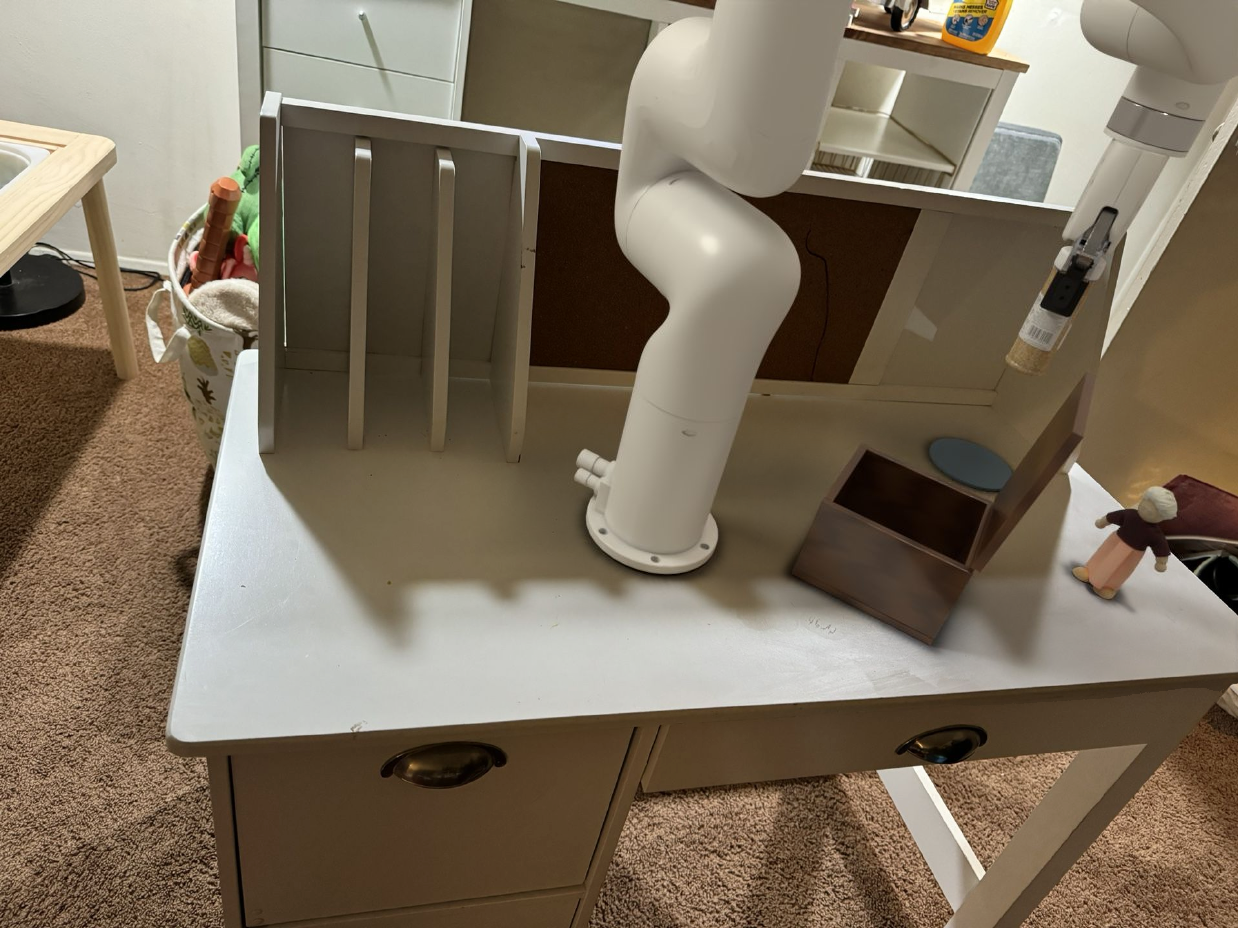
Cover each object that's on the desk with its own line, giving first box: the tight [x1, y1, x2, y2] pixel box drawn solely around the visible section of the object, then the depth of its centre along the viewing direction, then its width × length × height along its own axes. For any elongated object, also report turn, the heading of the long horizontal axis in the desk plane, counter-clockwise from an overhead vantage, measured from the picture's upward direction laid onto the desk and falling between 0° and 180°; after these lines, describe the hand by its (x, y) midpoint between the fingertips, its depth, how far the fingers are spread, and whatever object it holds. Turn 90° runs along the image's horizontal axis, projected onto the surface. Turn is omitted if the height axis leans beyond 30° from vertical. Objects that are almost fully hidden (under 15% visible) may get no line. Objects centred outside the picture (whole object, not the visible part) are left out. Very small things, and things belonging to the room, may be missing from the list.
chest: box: [791, 442, 994, 646], centre depth 81 cm, size 14×13×9 cm
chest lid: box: [971, 371, 1097, 573], centre depth 72 cm, size 14×13×1 cm
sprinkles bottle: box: [1005, 245, 1107, 377], centre depth 92 cm, size 5×5×13 cm
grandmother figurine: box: [1071, 485, 1178, 600], centre depth 85 cm, size 8×4×13 cm, turn 40°
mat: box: [928, 437, 1013, 492], centre depth 104 cm, size 10×10×1 cm
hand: (1058, 302), depth 91 cm, fingers closed on sprinkles bottle, 4 cm apart
